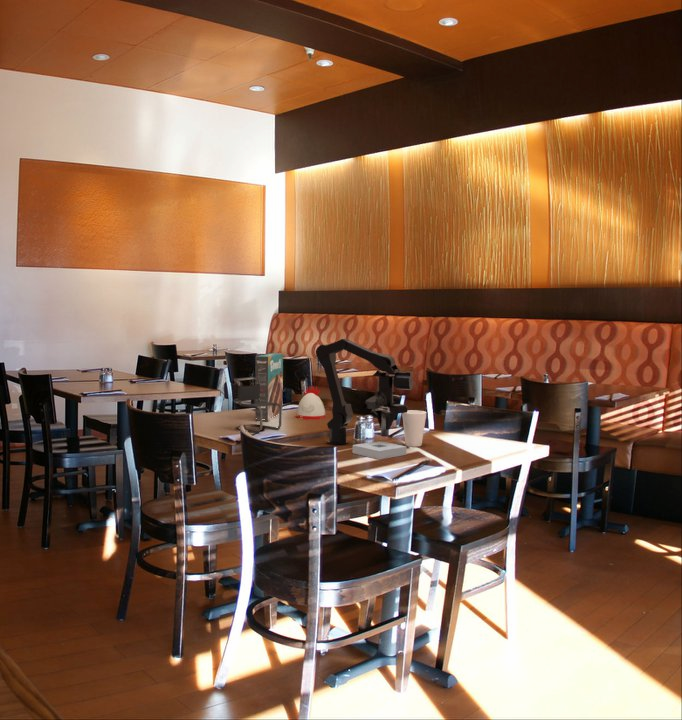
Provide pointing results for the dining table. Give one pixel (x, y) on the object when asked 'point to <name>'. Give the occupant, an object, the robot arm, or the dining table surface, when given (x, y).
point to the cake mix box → (269, 384)
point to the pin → (384, 425)
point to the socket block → (379, 450)
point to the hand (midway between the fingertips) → (384, 429)
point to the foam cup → (414, 427)
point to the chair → (251, 394)
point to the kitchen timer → (311, 405)
